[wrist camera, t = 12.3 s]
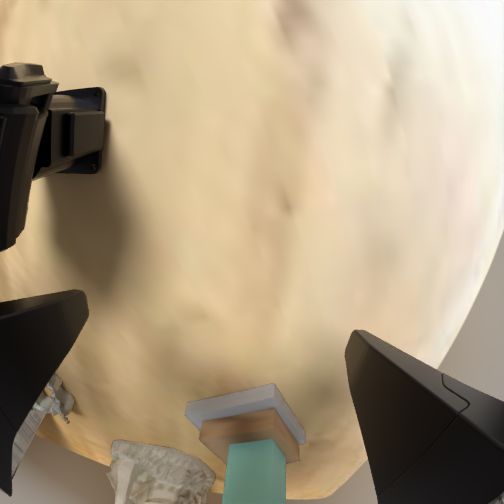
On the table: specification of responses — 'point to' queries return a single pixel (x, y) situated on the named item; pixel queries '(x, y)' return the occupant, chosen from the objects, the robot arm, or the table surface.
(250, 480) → the teal block
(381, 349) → the robot arm
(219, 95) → the table surface
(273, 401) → the slate slab
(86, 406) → the table surface
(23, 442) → the coffee box
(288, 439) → the walnut slab
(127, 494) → the grey jagged round piece
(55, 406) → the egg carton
